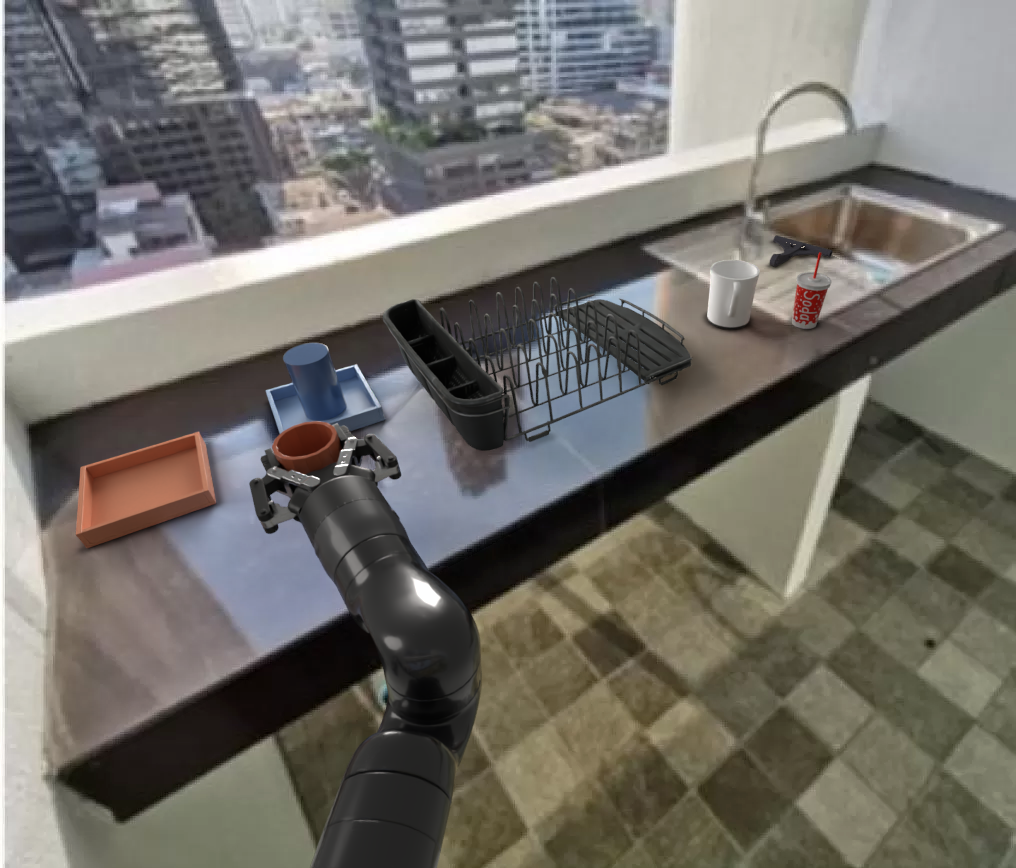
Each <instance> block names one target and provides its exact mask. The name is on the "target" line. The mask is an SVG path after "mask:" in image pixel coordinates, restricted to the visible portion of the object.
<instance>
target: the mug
mask: <svg viewBox="0 0 1016 868" xmlns="http://www.w3.org/2000/svg"><path fill="white" fill-rule="evenodd" d="M760 271H761V270H760V268H759V266H757V265H756V264H754V263H752V262H750V261H747V260H742V259H722V260H718V261H715V262H713V263H712V264H711V265H710V270H709V289H708V290H709V291H708V304H707V311H706V312H707V315H706V319H707V321H708V323H709V324H710V325H711V326H713V327H716V328H718V329H722V330H728V331H731V330H732V331H733V330H735V331H736V330H741V329H743V328H745V327H746V326H747V325H748V324H749V323H750V320H751V319H750V318H751V313H752V309H753V303H754V298H755V294H756V288H757V284H758V281H759V277H760V273H761V272H760Z"/></svg>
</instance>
